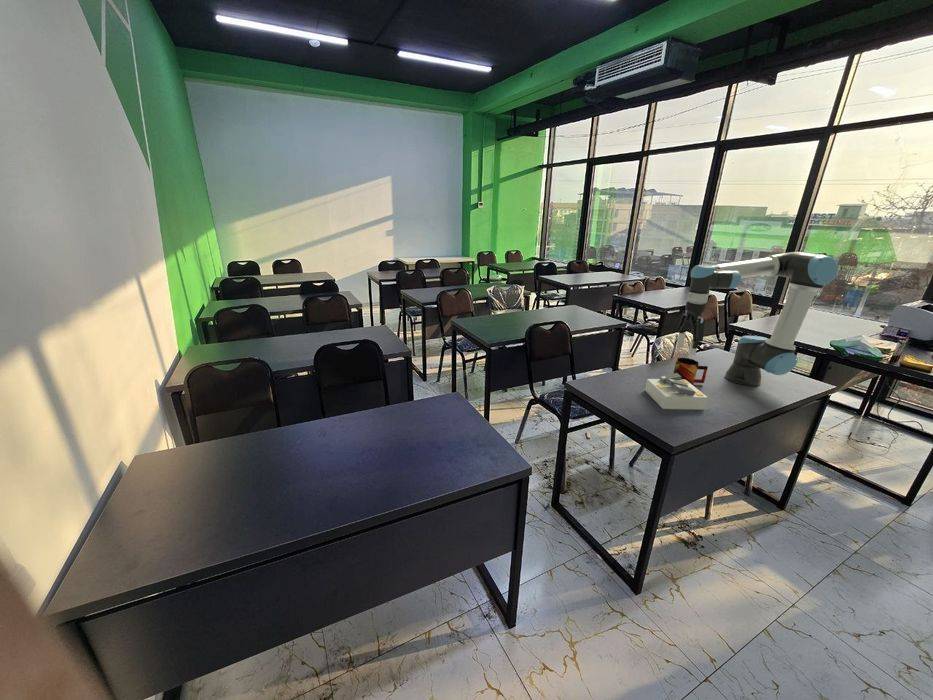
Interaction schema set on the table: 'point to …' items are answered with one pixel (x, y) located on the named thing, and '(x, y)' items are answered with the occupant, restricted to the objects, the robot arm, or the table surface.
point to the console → (675, 396)
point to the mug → (689, 370)
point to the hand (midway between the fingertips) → (685, 350)
